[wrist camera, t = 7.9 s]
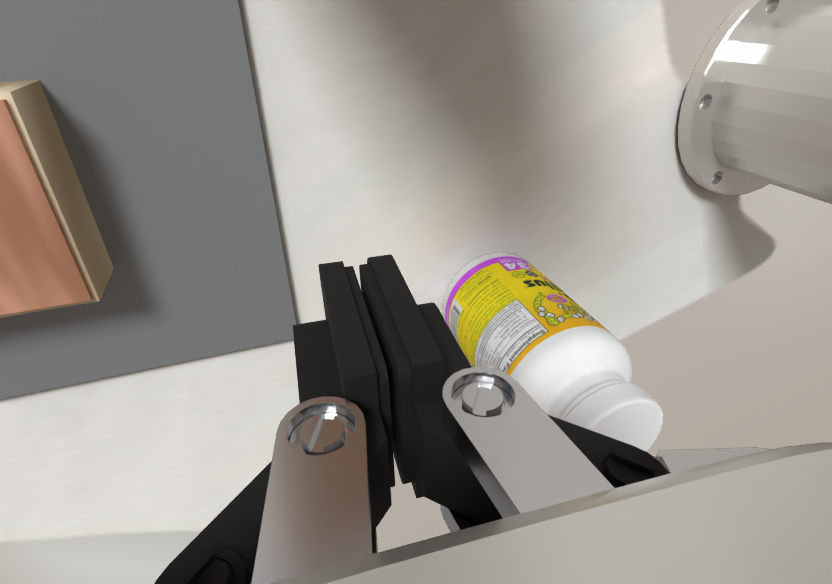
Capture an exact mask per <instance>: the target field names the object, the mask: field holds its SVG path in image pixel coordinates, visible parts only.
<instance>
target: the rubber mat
mask: <svg viewBox="0 0 832 584" xmlns="http://www.w3.org/2000/svg"><path fill="white" fill-rule="evenodd" d="M28 80H40V83H41V85H42V88H43V90H44V93H45V95H46V98H47V100H48V103H49V106H50V108H51V111H52V113H53V116H54V118H55V121H56V123H57V126H58V128H59V131H60V133H61V136H62V138H63V141H64V143H65V146H66V149H67V151H68V154H69V156H70V159H71V161H72V164H73V166H74V169H75V171H76V174H77V176H78V179H79V181H80V184H81V186H82V189H83V192H84V194H85V197H86V199H87V202H88V204H89V207H90V209H91V212H92V214H93V217H94V219H95V222H96V224H97V227H98V230H99V232H100V235H101V237H102V240H103V242H104V245H105V247H106V250H107V252H108V255H109V257H110V260H111V262H112V265H113V267H114V269H113V271H112V273H111V276H110V278H109V280H108V283H107V285H106V288H105V290H104V292H103V295H102V297H101V300H100V301H97V302H91V303H85V304H79V305H73V306H67V307H61V308H55V309H49V310H43V311H37V312H31V313H25V314H19V315H13V316H7V317H1V318H0V400H1V399H5V398H10V397H15V396H20V395H25V394H30V393H35V392H39V391H44V390H49V389H54V388H59V387H64V386H69V385H74V384H78V383H83V382H88V381H93V380H98V379H103V378H108V377H113V376H117V375H122V374H127V373H132V372H137V371H142V370H147V369H152V368H156V367H161V366H166V365H171V364H176V363H181V362H186V361H190V360H195V359H200V358H205V357H210V356H215V355H220V354H225V353H229V352H234V351H239V350H244V349H249V348H254V347H259V346H264V345H268V344H273V343H278V342H283V341H288V340H293V339H294V334H293V325H296V319H295V313H294V308H293V302H292V297H291V291H290V286H289V280H288V275H287V269H286V264H285V258H284V253H283V247H282V241H281V236H280V230H279V225H278V219H277V214H276V208H275V203H274V197H273V192H272V186H271V181H270V175H269V169H268V164H267V158H266V153H265V147H264V142H263V136H262V131H261V125H260V120H259V114H258V108H257V103H256V97H255V92H254V86H253V81H252V75H251V70H250V64H249V59H248V53H247V48H246V42H245V36H244V31H243V25H242V20H241V14H240V9H239V3H238V0H0V82H10V81H28Z"/></svg>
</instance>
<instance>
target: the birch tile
mask: <svg viewBox="0 0 832 584" xmlns="http://www.w3.org/2000/svg"><path fill="white" fill-rule="evenodd" d="M113 269H114V267H113V265H112V262H111V260H110V257H109V255H108V252H107V250H106V247H105V245H104V242H103V240H102V237H101V235H100V232H99V230H98V227H97V224H96V222H95V219H94V217H93V214H92V212H91V209H90V207H89V204H88V202H87V199H86V197H85V194H84V192H83V189H82V186H81V184H80V181H79V179H78V176H77V174H76V171H75V169H74V166H73V164H72V161H71V159H70V156H69V154H68V151H67V149H66V146H65V143H64V141H63V138H62V136H61V133H60V131H59V128H58V126H57V123H56V121H55V118H54V116H53V113H52V111H51V108H50V106H49V103H48V100H47V98H46V95H45V93H44V90H43V88H42V85H41V83H40V80H28V81H10V82H0V318H1V317H7V316H13V315H19V314H25V313H31V312H37V311H43V310H49V309H55V308H61V307H67V306H73V305H79V304H85V303H91V302H97V301H100V300H101V297H102V295H103V292H104V290H105V288H106V285H107V283H108V280H109V278H110V276H111V273H112V271H113Z"/></svg>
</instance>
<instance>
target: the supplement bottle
mask: <svg viewBox="0 0 832 584" xmlns="http://www.w3.org/2000/svg"><path fill="white" fill-rule="evenodd" d="M443 318H444V320H445V321H446V323H447V325H448V327H449V328H450V330H451V332H452V334H453V336H454V337H455V339H456V341H457V343H458V344H459V346H460V348H461V350H462V351H463V353H464V354H465V356H466V357H467V358H468V360H469V361H470V363H471V364H472V366H473V367H488V368H493V369H497V370H500V371H502V372H504V373H506V374H508V375H510V376H511V377H512V378H513V379H515V380H516V381H517V382H518V383H519V384H520V385H521V386H522V387H523V389H524V390H525V391H526V392H527V393H528V394H529V395H530V396H531V397H532V398H533V399H534V401H535V402H536V403H537V404H538V405H539V406H540V407H541V408H542V409H543V410H544V411H545V413H546V414H547V415H550V416H553V417H556V418H558V419H561V420H564V421H567V422H569V423H572V424H575V425H578V426H580V427H583V428H586V429H589V430H591V431H594V432H597V433H600V434H602V435H605V436H608V437H611V438H613V439H616V440H619V441H622V442H624V443H627V444H630V445H633V446H635V447H637V448H639V449H641V450H643V451H646V452H647V451H648V449H649V448H650V447H651V446H652V444H653V443H654V442H655V440H656V438H657V437H658V435H659V433H660V430H661V428H662V424H663V413H662V410H661V408H660V406H659V405H658V404H657V403H656V402H655V401H654V400H653V399H652V398H651V397H650V396H649V395H648V394H647V393H646V392H645V391H644V390H643V389H642V388H641V387H639V386H637V385H635V384H632V383H631V378H632V366H631V361H630V358H629V355H628V352H627V350H626V349H625V347H624V346H623V345H622V343H621V342H620V341H619V340H618V339H617V338H616V337H615V336H614V335H613V334H611V333H610V332H609V331H608V330H607V329H606V328H605V327H603V326H602V325H601V324H600V323H599V322H597V321H596V320H595V319H594V318H593V317H592V316H590V315H589V314H588V313H587V312H586V311H585V310H583V309H582V308H581V307H580V306H579V305H578V304H577V303H576V302H574V301H573V300H572V299H571V298H570V297H569V296H567V295H566V294H565V293H564V292H563V291H562V290H561V289H559V288H558V287H557V286H556V285H555V284H554V283H552V282H551V281H550V280H549V279H548V278H546V277H545V276H544V275H543V274H542V273H541V272H539V271H538V270H537V269H536V268H535V267H534V266H532V265H531V264H530V263H529V262H527V261H526V260H525V259H523V258H521V257H519V256H517V255H514V254H510V253H492V254H487V255H484V256H481V257H479V258H477V259H475V260H473V261H471V262H470V263H468V264H467V265H466V266H464V267H463V268H462V269H461V270H460V271H459V272H458V273H457V274H456V276H455V277H454V278H453V280H452V281H451V283H450V284H449V286H448V288H447V290H446V293H445V296H444V299H443Z"/></svg>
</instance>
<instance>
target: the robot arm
mask: <svg viewBox="0 0 832 584" xmlns="http://www.w3.org/2000/svg"><path fill="white" fill-rule="evenodd" d="M678 147H679V152H680V157H681V161H682V163H683V166H684V168H685V170H686V172H687V174H688V175H689V176H690V177H691V178H692V180H693V181H694V182H695V183H696V184H698V185H700V186H702V187H703V188H705V189H707V190H710V191H713V192H716V193H719V194H721V195H733V196H734V195H740V194H746V193H749V192H752V191H755V190H758V189H760V188H763V187H764V186H766V185H768V184H773V185H776V186H779V187H782V188H785V189H788V190H791V191H794V192H797V193H800V194H803V195H806V196H809V197H812V198H815V199H818V200H821V201H824V202H827V203H830V204H832V0H743V1H742V2H741V3H740V4H739V5H738V6H737V7H736V8H735V9H734V10H733V11H732V12H731V13H730V15H728V17H726V19H725V20H724V21H723V23H722V24H721V25H720V27H719V28H718V29H717V31H716V32H715V33H714V35H713V36H712V38H711V39H710V40H709V42H708V44H707V45H706V47H705V49H704V51H703V52H702V54H701V56H700V58H699V59H698V61H697V63H696V65H695V68H694V70H693V72H692V75H691V77H690V79H689V82H688V84H687V87H686V91H685V94H684V98H683V101H682V104H681V110H680V117H679V123H678ZM359 269H360V281H361V289H360V286H359V283H358V280H357V277H356V274H355V271H354V268H353V266H349V267H344V264H343V261H340V262H333V263H326V264H319V273H320V280H321V287H322V294H323V302H324V309H325V316H326V320H322V321H316V322H310V323H304V324H297V325H293V334H294V345H295V356H296V367H297V378H298V389H299V400H300V404H298V405H297V406H296V407H294V408H293V409H292V410H290V411H289V412H288V413H287V414H286V415H285V417H284V418H283V419H282V420H281V422H280V425H279V427H278V430H277V434H276V440H275V446H274V452H273V458H272V461H271V462H270V463H269V464H268V465H267V466H266V467H265V468H264V469H263V470H262V471H261V472H260V473H259V474H258V475H257V476H256V477H255V478H254V479H253V480H252V481H251V482H250V484H249V485H248V486H247V487H246V488H245V489H244V490H243V491H242V492H241V493H240V494H239V495H238V496H237V497H236V498H235V499H234V500H233V501H232V502H231V503H230V504H229V505H228V506H227V507H226V508H225V509H224V510H223V511H222V512H221V513H220V514H219V515H218V516H217V517H216V518H215V519H214V520H213V521H212V522H211V523H210V524H209V525H208V526H207V527H206V528H205V529H204V530H203V531H202V532H201V533H200V534H199V535H198V536H197V537H196V538H195V539H194V540H193V541H192V542H191V543H190V544H189V545H188V546H187V547H186V548H185V549H184V550H183V551H182V552H181V553H180V554H179V555H178V556H177V557H176V558H175V559H174V560H173V561H172V562H171V563H170V564H169V565H168V566H167V568H166V569H165V570H164V571H163V573H162V574H161V575H160V576H159V578H158V579H157V580H156V582H155V584H832V443H816V444H807V445H799V446H789V447H782V448H777V449H766V448H757V447H752V448H717V449H685V450H684V449H683V450H658V452H657V455H656V457H653V456H652V455H650V454H648V452H646V451H643V450H641V449H639V448H637V447H635V446H633V445H630V444H627V443H624V442H622V441H619V440H616V439H613V438H611V437H608V436H605V435H602V434H600V433H597V432H594V431H591V430H589V429H586V428H583V427H580V426H578V425H575V424H572V423H569V422H567V421H564V420H561V419H558V418H556V417H553V416H550V415H547V414H546V413H545V411H544V410H543V409H542V408H541V407H540V406H539V405H538V404H537V403H536V402H535V401H534V399H533V398H532V397H531V396H530V395H529V394H528V393H527V392H526V391H525V390H524V389H523V387H522V386H521V385H520V384H519V383H518V382H517V381H516V380H515V379H513V378H512V377H511V376H510V375H508V374H506V373H504V372H502V371H500V370H497V369H493V368H488V367H471V366H470V364H469V362H468V360H467V359H466V357H465V355H464V353H463V351H462V350H461V348H460V346H459V344H458V343H457V341H456V339H455V337H454V336H453V334H452V332H451V330H450V328H449V327H448V325H447V323H446V321H445V320H444V318H443V316H442V314H441V313H440V311H439V309H438V307H437V306H436V305H435V303H426V304H420V305H417V304H416V302H415V300H414V298H413V296H412V294H411V292H410V290H409V288H408V286H407V284H406V282H405V280H404V278H403V276H402V274H401V272H400V270H399V268H398V266H397V264H396V262H395V260H394V258H393V256H392V255H384V256H377V257H370V258H368V259H367V264H364V265H360V266H359ZM393 454H394V457H395V461H396V464H397V467H398V471H399V474H400V478H401V481H402V483H403V484H406V483H410V482H412V485H413V489H414V492H415V495H416V498H419V497H426V498H428V499H430V500H432V501H434V502H436V503H438V504H440V505H441V512H442V515H443V518H444V520H445V522H446V524H447V526H448V528H449V529H450V532H451V533H448V534H445V535H441V536H437V537H434V538H430V539H427V540H423V541H419V542H415V543H412V544H408V545H405V546H401V547H397V548H394V549H390V550H386V551H383V552H379V553H378V550H377V549H378V548H377V534H376V533H377V532H376V527H377V526H378V524H379V523H380V521H381V520H382V518H383V517H384V515H385V514H386V512H387V511H388V509H389V508H390V506H391V491H390V490H391V489H390V487H394V486H395V475H394V458H393Z"/></svg>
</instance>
